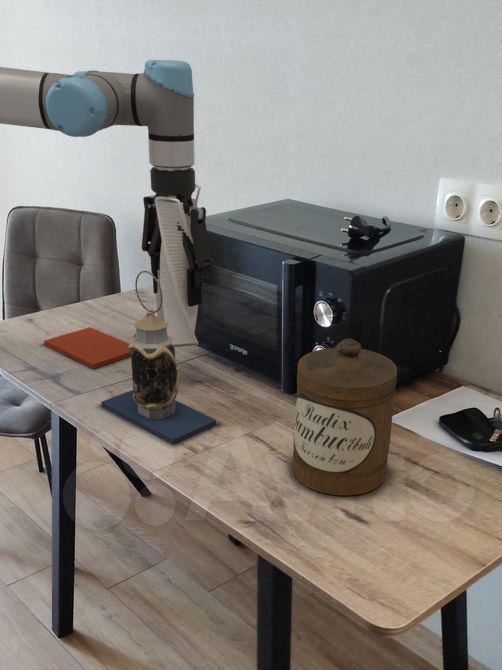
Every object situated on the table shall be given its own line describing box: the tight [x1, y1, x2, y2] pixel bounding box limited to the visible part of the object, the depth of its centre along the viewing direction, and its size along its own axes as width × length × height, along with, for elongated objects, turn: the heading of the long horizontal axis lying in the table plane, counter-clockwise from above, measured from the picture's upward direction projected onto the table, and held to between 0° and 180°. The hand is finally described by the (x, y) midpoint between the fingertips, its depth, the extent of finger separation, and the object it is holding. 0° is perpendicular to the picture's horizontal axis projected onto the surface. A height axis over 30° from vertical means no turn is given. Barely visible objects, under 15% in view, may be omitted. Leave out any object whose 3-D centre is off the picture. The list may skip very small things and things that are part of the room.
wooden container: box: [292, 338, 398, 496], centre depth 106 cm, size 15×15×22 cm
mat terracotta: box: [43, 326, 132, 369], centre depth 152 cm, size 18×12×1 cm, turn 48°
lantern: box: [128, 270, 180, 419], centre depth 119 cm, size 9×8×25 cm
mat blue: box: [100, 389, 217, 445], centre depth 126 cm, size 20×10×1 cm, turn 47°
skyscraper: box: [155, 183, 202, 348], centre depth 127 cm, size 8×8×28 cm
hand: (177, 298), depth 130 cm, fingers closed on skyscraper, 9 cm apart
